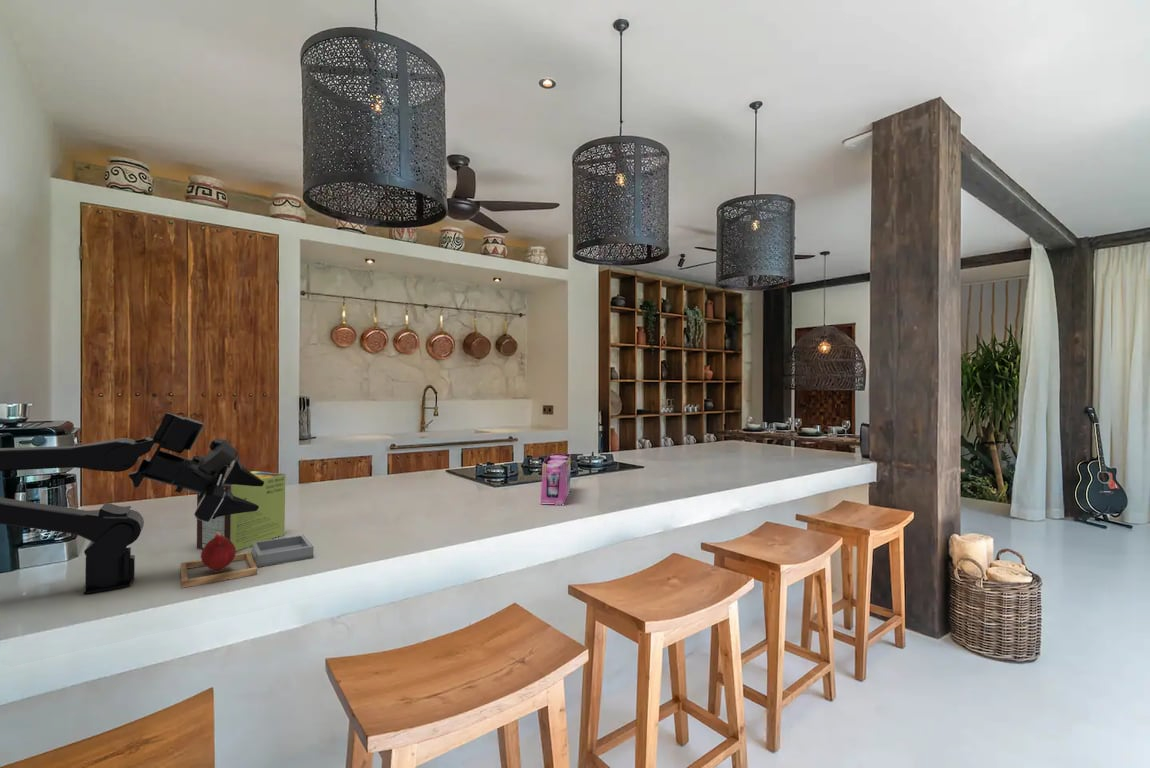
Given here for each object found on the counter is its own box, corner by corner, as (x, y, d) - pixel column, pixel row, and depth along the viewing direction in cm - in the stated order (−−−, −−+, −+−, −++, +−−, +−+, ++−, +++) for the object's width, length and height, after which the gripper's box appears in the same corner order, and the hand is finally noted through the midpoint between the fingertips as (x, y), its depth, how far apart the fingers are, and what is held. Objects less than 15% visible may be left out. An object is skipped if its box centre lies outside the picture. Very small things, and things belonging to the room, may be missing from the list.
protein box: (285, 534, 133) (286, 473, 132) (229, 554, 118) (230, 485, 118) (253, 530, 136) (254, 470, 135) (194, 548, 121) (195, 481, 121)
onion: (241, 566, 110) (242, 528, 110) (224, 577, 104) (224, 536, 104) (213, 566, 110) (213, 528, 110) (194, 576, 104) (194, 536, 104)
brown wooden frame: (181, 588, 99) (181, 581, 99) (180, 568, 108) (180, 562, 108) (257, 574, 106) (257, 568, 106) (249, 557, 116) (249, 551, 116)
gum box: (564, 507, 167) (565, 464, 167) (539, 506, 168) (540, 463, 168) (570, 491, 191) (571, 453, 191) (548, 490, 192) (549, 453, 191)
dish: (257, 567, 110) (257, 555, 110) (251, 553, 118) (251, 542, 118) (313, 557, 116) (313, 546, 116) (303, 545, 125) (303, 534, 125)
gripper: (186, 463, 96) (274, 490, 104) (207, 418, 112) (283, 444, 120) (157, 511, 97) (247, 534, 106) (183, 460, 113) (259, 483, 121)
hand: (260, 495), depth 113 cm, fingers open, 9 cm apart
